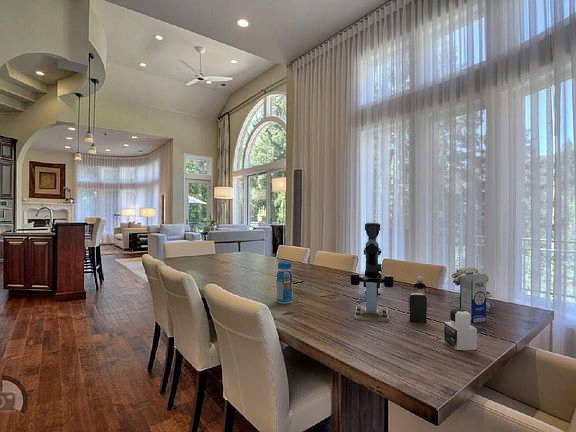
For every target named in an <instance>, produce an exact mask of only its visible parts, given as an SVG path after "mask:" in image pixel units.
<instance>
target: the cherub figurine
mask: <svg viewBox="0 0 576 432" xmlns="http://www.w3.org/2000/svg"><path fill="white" fill-rule="evenodd" d="M455 271H456V272H454V273H452V274H451V277H452V278H453V280H452V283H453V284H455V286H460V276H463V275H466V273H467V272H473V274H482V273H481V272H479V269H478V268H477V267H475V266H465V267H461V268H457V269H456V270H455ZM488 281H489V276H488V274H486V283H487V282H488ZM492 296H493V293H491V292H490V291H487V290H486V313H487V312H488V313H489V312H490V308H491V305H492V304H491V303H489V302H487V299H488V298H491V297H492ZM449 302H450V303H451V304H452V305H454V307H456V308H458V309H460V296H457V297H455V298H454V299H452V300H451V299H450V300H449Z"/></svg>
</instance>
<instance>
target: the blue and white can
mask: <svg viewBox="0 0 576 432" xmlns="http://www.w3.org/2000/svg"><path fill="white" fill-rule="evenodd" d="M277 269H278V271H277V272H276V275H275V276H276V302H277V303H278V304H283V305H284V304H286V305H287V304H291V303H292V302H293V282H294V280H293V276H294V275H293V272H292V271H291V269H292V262H291V261H285V260H284V261H278V263H277Z"/></svg>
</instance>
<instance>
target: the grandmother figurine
mask: <svg viewBox="0 0 576 432" xmlns="http://www.w3.org/2000/svg"><path fill="white" fill-rule="evenodd" d="M423 282H424V276H422V275H418V276H416V283H414V284H413V285H412V288H411V291H414V290H415V289H416V292H415V293H422V294H424V295H425V296H426V294H425V291H426V292H429V289H428V287H427V285H426V284H425V283H423Z"/></svg>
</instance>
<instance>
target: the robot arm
mask: <svg viewBox="0 0 576 432" xmlns="http://www.w3.org/2000/svg"><path fill="white" fill-rule="evenodd" d="M364 231H365V234H366V236H367V237H368V238H367V241H366V242H365V247H363V255H365V269H364V276H363V277H361V276H360V274H359V273H351V274H350V278H349V279H350V285H352V286H359V285H360V284H361V283H363V286H362V287H363V288H366V282H369V283H377V295H381V293H380V292H379V289H380V288H381V284H383V286H384V288H394V279H395V278H394V276H393V275H384V276H383V275H382V274H381V272H382V268H383V267H382V263H379V256H381V254H382V249H381V248H380V246H379V245H380V244H379V243H378V242H377V238H378V236H379V234H380V231H381V223H379V222H377V221H376V222H372V221H371V222H368V221H367V222H366V223H364ZM364 293H365V294H366V290H364Z"/></svg>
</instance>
